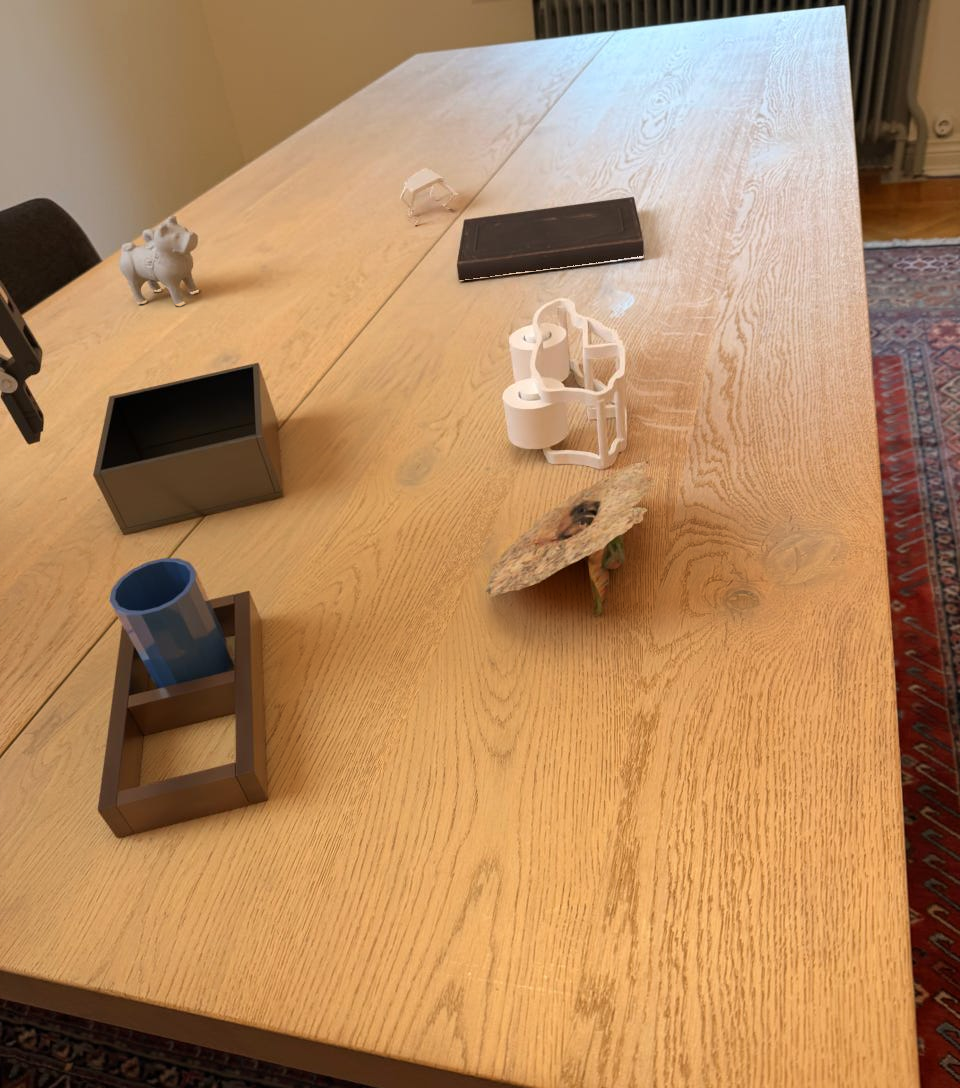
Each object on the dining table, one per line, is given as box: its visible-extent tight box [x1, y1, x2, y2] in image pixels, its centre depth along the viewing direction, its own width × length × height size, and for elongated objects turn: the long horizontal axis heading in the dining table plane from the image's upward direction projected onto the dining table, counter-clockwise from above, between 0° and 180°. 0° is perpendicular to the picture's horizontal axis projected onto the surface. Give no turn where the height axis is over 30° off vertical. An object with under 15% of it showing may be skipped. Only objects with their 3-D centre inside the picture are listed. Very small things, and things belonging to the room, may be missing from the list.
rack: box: [97, 590, 269, 839], centre depth 67 cm, size 10×19×3 cm, turn 12°
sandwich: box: [485, 460, 655, 617], centre depth 71 cm, size 18×14×8 cm
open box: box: [92, 362, 284, 536], centre depth 91 cm, size 15×15×7 cm
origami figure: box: [399, 166, 459, 223], centre depth 138 cm, size 12×8×5 cm
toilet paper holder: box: [502, 297, 628, 470], centre depth 88 cm, size 20×11×7 cm, turn 176°
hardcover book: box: [456, 196, 645, 281], centre depth 121 cm, size 16×23×2 cm
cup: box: [109, 557, 235, 689], centre depth 68 cm, size 6×6×9 cm
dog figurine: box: [118, 214, 199, 305], centre depth 125 cm, size 5×13×11 cm, turn 70°
